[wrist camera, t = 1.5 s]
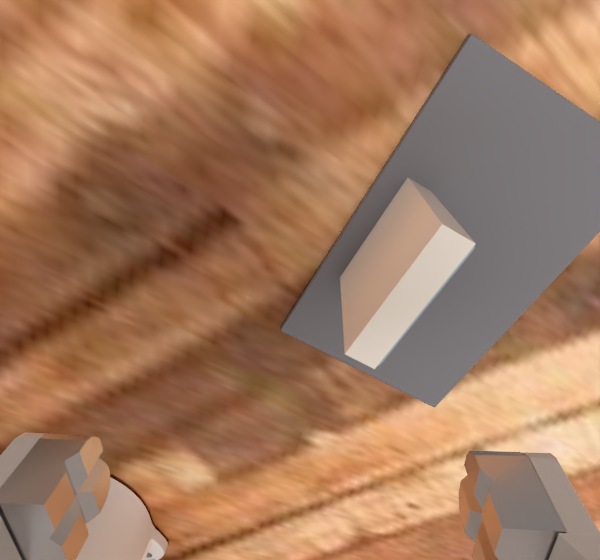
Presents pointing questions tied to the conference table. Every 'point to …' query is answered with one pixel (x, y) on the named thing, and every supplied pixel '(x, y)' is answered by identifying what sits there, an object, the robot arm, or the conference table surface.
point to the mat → (473, 216)
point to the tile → (399, 272)
